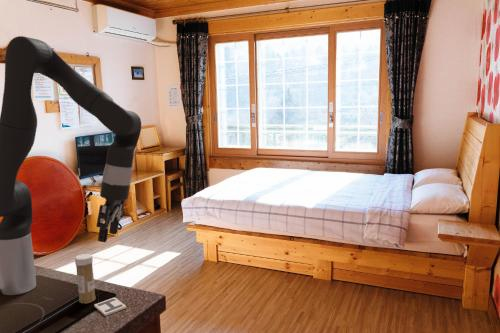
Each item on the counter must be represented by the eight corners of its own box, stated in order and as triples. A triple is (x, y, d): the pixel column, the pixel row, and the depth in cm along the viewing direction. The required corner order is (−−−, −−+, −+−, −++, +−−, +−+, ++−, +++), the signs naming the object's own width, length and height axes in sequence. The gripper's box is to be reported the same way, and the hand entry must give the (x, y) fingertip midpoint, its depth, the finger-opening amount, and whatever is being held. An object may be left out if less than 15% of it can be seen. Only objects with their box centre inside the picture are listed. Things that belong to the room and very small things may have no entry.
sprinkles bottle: (97, 301, 114) (93, 257, 112) (80, 305, 112) (76, 260, 109) (93, 294, 118) (90, 251, 116) (77, 299, 115) (73, 255, 113)
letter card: (94, 306, 111) (94, 304, 111) (114, 299, 115) (114, 297, 115) (105, 316, 106) (105, 314, 106) (126, 308, 110) (126, 305, 110)
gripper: (112, 176, 118) (103, 229, 119) (93, 181, 104) (84, 241, 105) (137, 180, 118) (128, 233, 119) (121, 187, 104) (112, 246, 105)
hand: (107, 237), depth 112 cm, fingers open, 8 cm apart
